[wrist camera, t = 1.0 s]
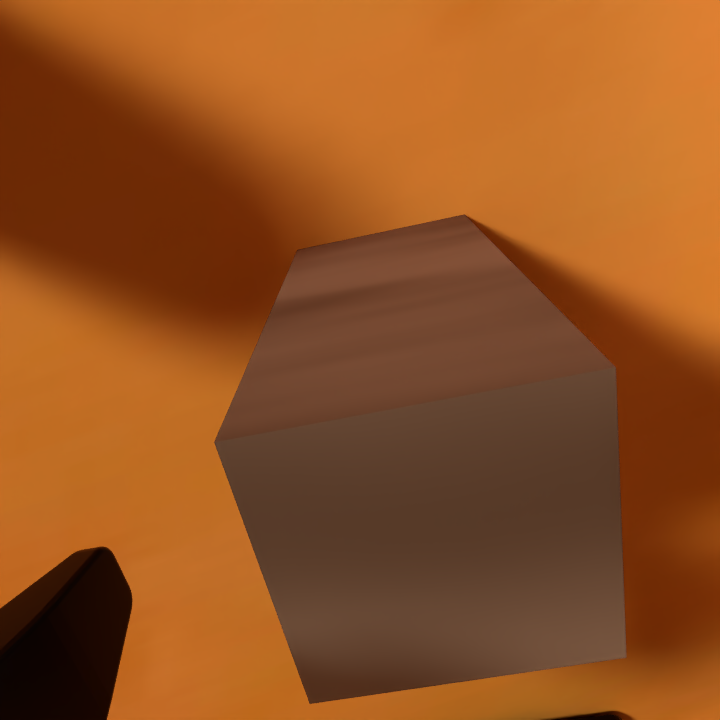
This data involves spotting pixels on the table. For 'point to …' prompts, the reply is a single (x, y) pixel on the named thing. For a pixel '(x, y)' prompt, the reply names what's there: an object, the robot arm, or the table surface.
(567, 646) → the walnut post
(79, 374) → the table surface
